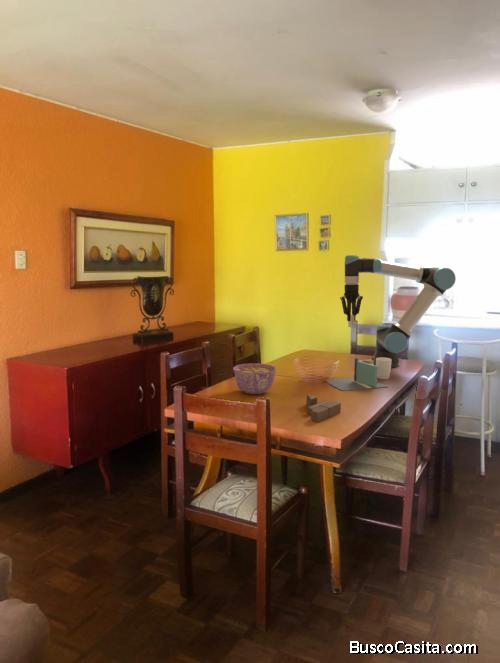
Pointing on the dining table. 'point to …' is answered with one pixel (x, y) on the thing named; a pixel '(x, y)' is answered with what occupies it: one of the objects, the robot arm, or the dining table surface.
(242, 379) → the bowl of food
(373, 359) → the tan brown patterned panel
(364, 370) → the teal rectangular panel
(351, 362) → the dining table surface
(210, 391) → the dining table surface
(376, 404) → the dining table surface
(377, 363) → the white cup
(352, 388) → the mat
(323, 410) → the wooden block set
